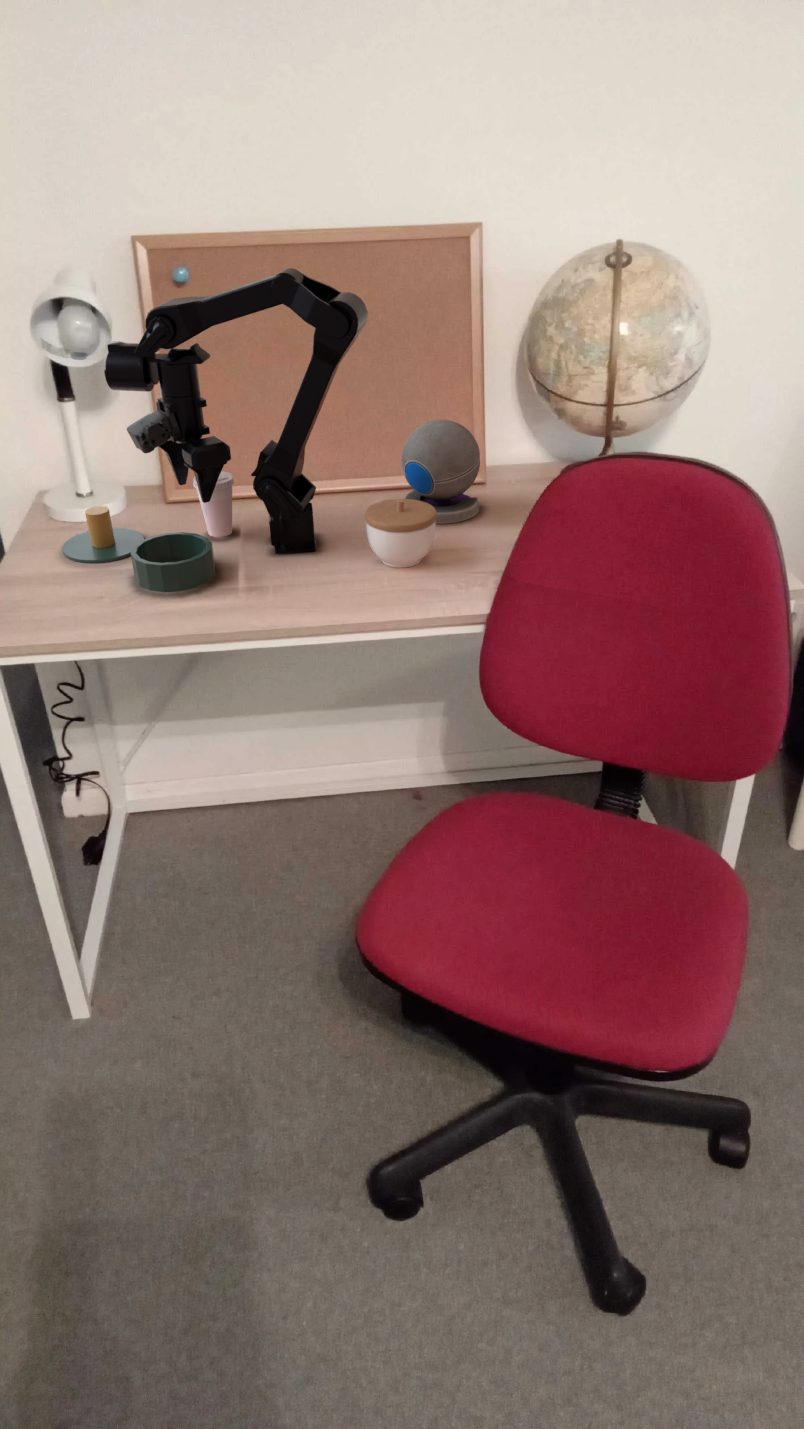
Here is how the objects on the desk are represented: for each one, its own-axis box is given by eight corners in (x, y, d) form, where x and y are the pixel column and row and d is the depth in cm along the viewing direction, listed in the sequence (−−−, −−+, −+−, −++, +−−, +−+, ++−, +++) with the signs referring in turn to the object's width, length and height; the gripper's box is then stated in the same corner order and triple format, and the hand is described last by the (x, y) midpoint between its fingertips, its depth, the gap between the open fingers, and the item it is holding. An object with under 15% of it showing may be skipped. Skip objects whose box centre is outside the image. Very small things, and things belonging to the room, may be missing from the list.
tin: (216, 559, 153) (213, 529, 150) (214, 592, 143) (210, 561, 141) (140, 564, 152) (135, 534, 149) (132, 597, 142) (127, 567, 140)
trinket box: (447, 551, 154) (447, 493, 149) (419, 579, 146) (418, 519, 141) (385, 540, 158) (383, 484, 153) (354, 567, 150) (351, 508, 144)
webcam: (493, 507, 169) (496, 419, 161) (446, 530, 161) (446, 439, 153) (434, 490, 176) (435, 405, 168) (386, 511, 168) (384, 423, 160)
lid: (148, 531, 163) (142, 493, 159) (141, 563, 152) (134, 523, 148) (70, 536, 161) (61, 498, 158) (57, 569, 151) (48, 528, 147)
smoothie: (232, 544, 157) (221, 458, 150) (194, 541, 159) (182, 456, 151) (246, 528, 163) (236, 444, 155) (209, 526, 164) (197, 443, 156)
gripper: (106, 387, 149) (123, 486, 158) (152, 417, 136) (168, 523, 145) (175, 375, 155) (188, 472, 163) (226, 403, 141) (237, 507, 150)
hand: (194, 493), depth 155 cm, fingers open, 9 cm apart
